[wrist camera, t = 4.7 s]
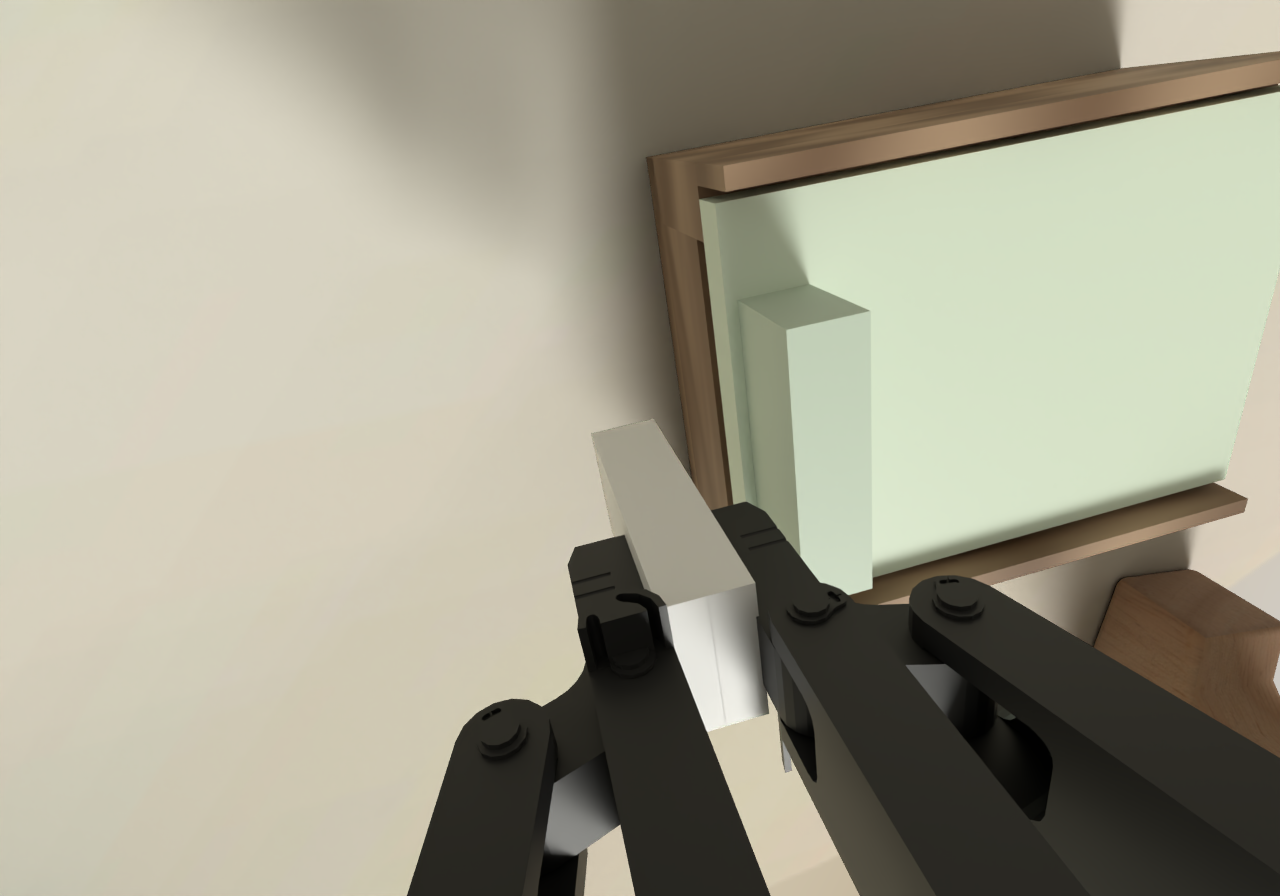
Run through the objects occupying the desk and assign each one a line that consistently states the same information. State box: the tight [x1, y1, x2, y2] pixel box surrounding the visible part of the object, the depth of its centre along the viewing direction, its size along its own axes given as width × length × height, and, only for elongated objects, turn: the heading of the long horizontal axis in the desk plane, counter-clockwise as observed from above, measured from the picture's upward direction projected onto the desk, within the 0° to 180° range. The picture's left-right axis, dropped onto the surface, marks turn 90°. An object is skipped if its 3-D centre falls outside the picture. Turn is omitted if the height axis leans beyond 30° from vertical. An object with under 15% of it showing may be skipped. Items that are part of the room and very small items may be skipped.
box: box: [646, 51, 1280, 605], centre depth 21 cm, size 16×13×7 cm
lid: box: [699, 85, 1280, 595], centre depth 18 cm, size 16×11×4 cm
